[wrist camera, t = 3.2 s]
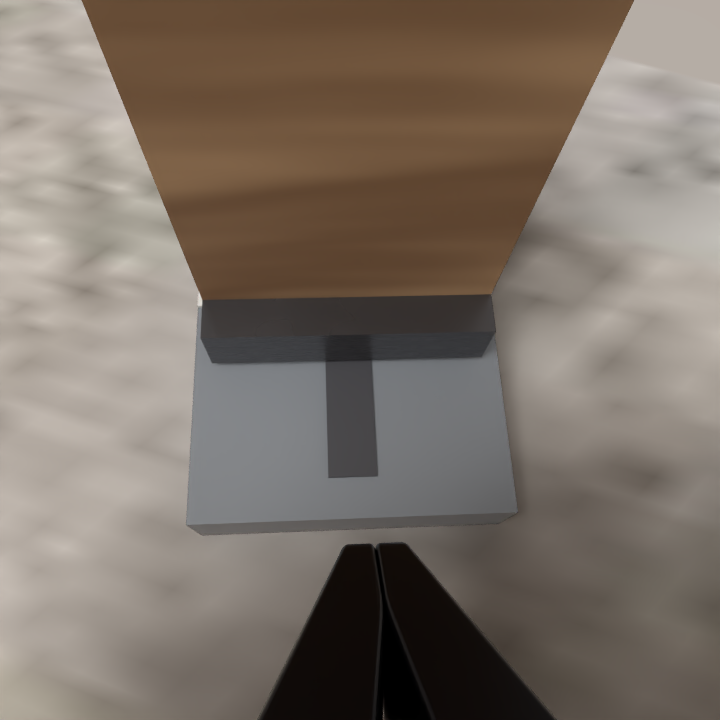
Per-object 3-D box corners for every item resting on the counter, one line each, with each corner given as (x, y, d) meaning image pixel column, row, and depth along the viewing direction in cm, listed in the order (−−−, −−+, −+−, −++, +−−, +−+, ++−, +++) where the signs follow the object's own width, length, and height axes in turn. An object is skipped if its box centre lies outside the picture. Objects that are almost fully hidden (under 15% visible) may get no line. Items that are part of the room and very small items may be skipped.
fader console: (498, 523, 18) (519, 511, 16) (202, 535, 17) (184, 524, 15) (447, 96, 23) (457, 48, 21) (221, 97, 23) (211, 47, 21)
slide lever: (481, 356, 17) (783, -179, 6) (212, 363, 17) (-47, -193, 5) (465, 226, 19) (680, -405, 7) (217, 230, 18) (25, -430, 7)
